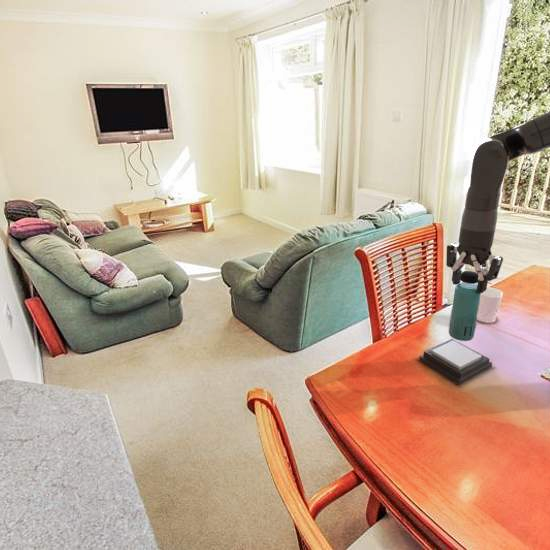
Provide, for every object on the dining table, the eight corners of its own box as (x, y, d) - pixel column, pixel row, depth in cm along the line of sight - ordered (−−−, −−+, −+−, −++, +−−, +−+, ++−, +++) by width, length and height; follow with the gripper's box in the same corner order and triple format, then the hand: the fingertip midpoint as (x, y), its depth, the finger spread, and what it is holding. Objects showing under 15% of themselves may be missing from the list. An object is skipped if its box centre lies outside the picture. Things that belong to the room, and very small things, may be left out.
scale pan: (452, 344, 112) (453, 340, 111) (481, 360, 104) (482, 355, 103) (431, 354, 108) (431, 350, 107) (459, 371, 100) (460, 366, 100)
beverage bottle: (461, 348, 99) (472, 280, 91) (441, 336, 105) (450, 271, 97) (478, 342, 102) (491, 274, 94) (458, 330, 107) (468, 266, 99)
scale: (451, 345, 115) (452, 336, 114) (491, 367, 104) (493, 358, 103) (419, 360, 109) (420, 351, 108) (458, 385, 98) (460, 376, 97)
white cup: (467, 318, 129) (472, 292, 125) (477, 310, 134) (481, 284, 130) (492, 326, 123) (498, 299, 119) (501, 317, 128) (506, 291, 124)
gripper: (517, 229, 86) (503, 294, 93) (461, 217, 98) (453, 275, 105) (497, 235, 83) (484, 302, 90) (442, 222, 95) (434, 282, 101)
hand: (467, 287), depth 97 cm, fingers closed on beverage bottle, 6 cm apart
